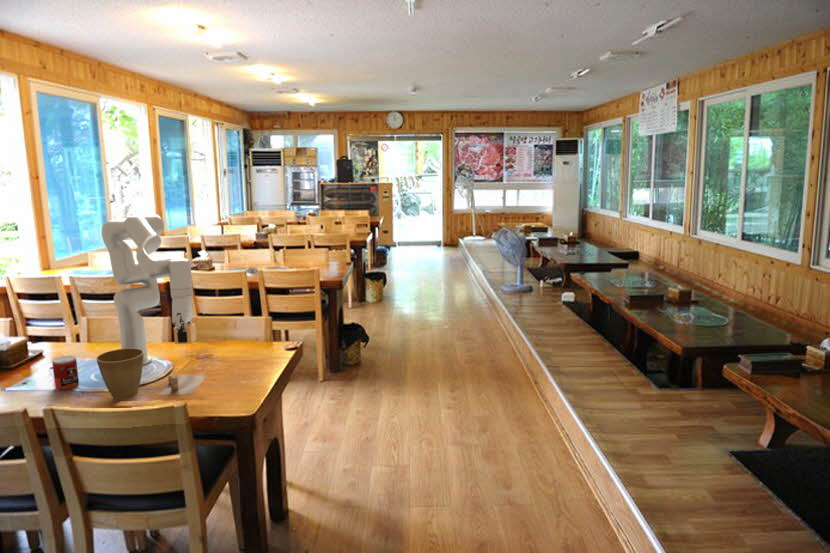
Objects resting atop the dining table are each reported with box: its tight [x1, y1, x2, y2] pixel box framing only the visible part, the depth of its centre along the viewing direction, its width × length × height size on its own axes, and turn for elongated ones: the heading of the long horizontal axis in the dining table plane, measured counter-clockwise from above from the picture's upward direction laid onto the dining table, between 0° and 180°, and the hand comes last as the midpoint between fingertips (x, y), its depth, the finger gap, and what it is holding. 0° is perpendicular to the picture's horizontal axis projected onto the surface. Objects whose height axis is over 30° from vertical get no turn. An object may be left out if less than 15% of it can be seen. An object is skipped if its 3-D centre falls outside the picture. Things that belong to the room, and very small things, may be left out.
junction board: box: [157, 374, 208, 396], centre depth 219 cm, size 12×20×6 cm, turn 3°
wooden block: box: [173, 323, 197, 345], centre depth 219 cm, size 6×6×6 cm
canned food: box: [51, 355, 80, 392], centre depth 220 cm, size 8×8×11 cm
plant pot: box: [95, 348, 144, 402], centre depth 209 cm, size 15×15×16 cm
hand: (185, 339), depth 220 cm, fingers closed on wooden block, 5 cm apart
